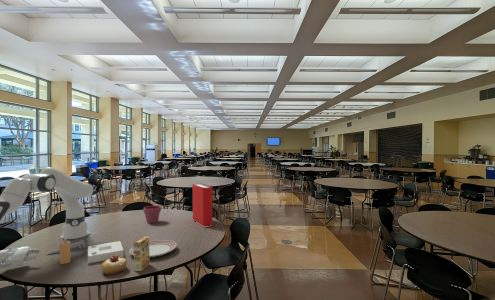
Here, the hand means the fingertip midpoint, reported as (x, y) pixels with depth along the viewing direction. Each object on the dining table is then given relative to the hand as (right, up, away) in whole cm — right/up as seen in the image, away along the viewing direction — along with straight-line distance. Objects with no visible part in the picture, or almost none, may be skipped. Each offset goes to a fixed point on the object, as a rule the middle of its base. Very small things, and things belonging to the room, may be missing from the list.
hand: (38, 253), depth 147 cm
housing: (+28, -7, +16) cm, 33 cm away
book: (+75, -6, +84) cm, 113 cm away
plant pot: (+31, -7, +89) cm, 94 cm away
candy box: (+57, -7, -2) cm, 57 cm away
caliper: (0, -8, +22) cm, 23 cm away
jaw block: (+11, -7, +6) cm, 14 cm away
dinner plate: (+55, -7, +21) cm, 60 cm away
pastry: (+43, -7, -5) cm, 44 cm away
